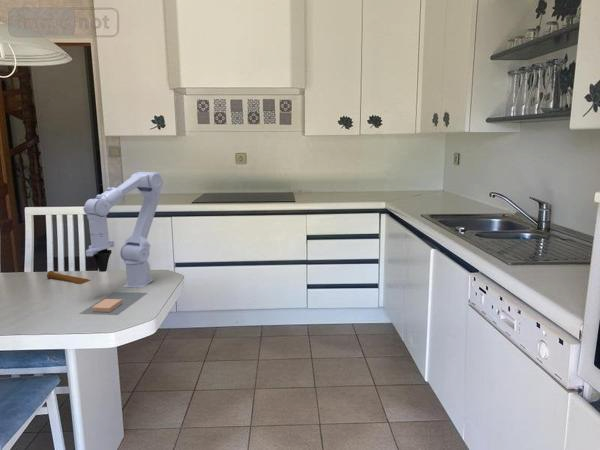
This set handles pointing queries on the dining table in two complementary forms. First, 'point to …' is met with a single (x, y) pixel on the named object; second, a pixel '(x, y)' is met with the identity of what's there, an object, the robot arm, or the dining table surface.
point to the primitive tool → (66, 278)
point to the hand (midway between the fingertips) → (102, 271)
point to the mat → (127, 301)
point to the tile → (107, 305)
